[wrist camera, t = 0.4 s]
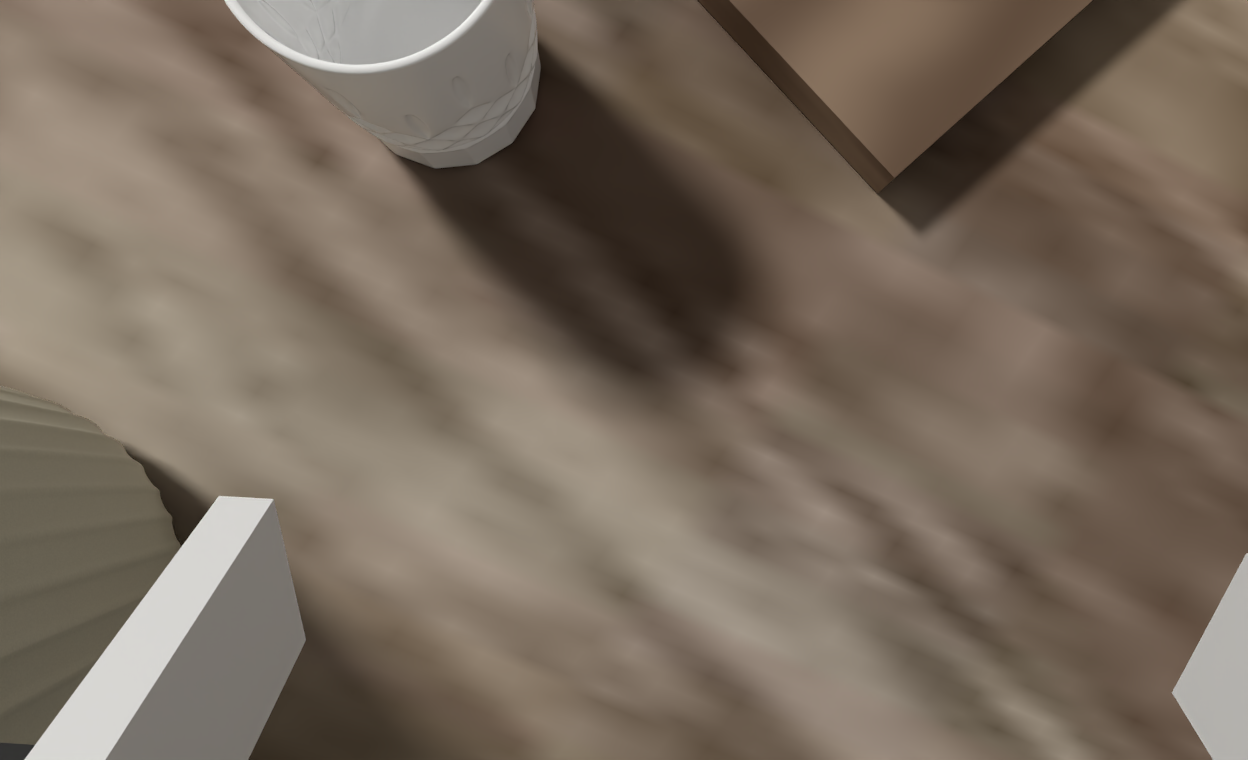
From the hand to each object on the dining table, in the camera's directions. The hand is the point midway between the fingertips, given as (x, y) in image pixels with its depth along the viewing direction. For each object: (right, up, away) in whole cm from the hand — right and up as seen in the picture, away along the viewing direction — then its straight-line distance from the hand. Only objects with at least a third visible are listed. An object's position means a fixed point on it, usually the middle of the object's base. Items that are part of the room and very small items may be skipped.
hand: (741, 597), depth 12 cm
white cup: (-8, +14, +19) cm, 25 cm away
